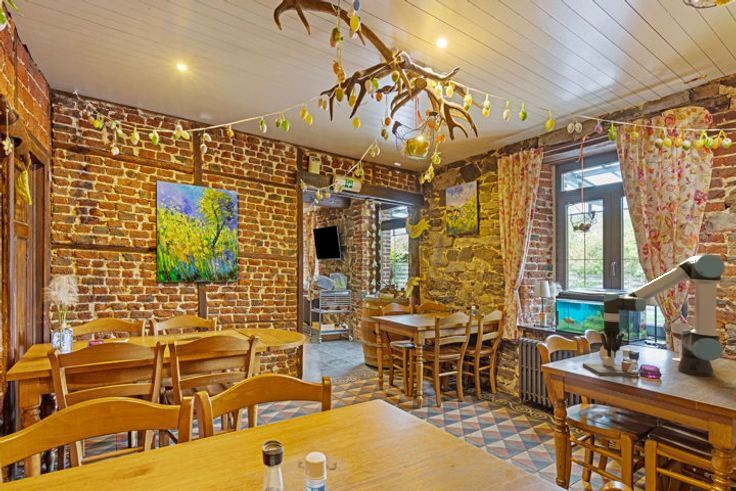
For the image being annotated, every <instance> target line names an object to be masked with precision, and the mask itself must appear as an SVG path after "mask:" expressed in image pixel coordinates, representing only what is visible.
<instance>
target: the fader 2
mask: <svg viewBox="0 0 736 491" xmlns="http://www.w3.org/2000/svg"><path fill="white" fill-rule="evenodd" d="M631 363H632V362H629V361H628V360H627V361H625V360H623V361H621V364H620V365H622V369H623V370H625V371H628V369H629V367H630V365H631Z"/></svg>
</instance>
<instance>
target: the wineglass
mask: <svg viewBox="0 0 736 491" xmlns="http://www.w3.org/2000/svg"><path fill="white" fill-rule="evenodd" d="M670 330H671V334H672V337H674V338H675V339H677V340H678V345H679V346H678V348H679V350H678V352H679V357H672V358H671V360H674V361H679V362H680V360H681V357H682V336H681V334H682V331H683V330H690V324H689V323H683V322H670Z"/></svg>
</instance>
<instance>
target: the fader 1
mask: <svg viewBox="0 0 736 491" xmlns="http://www.w3.org/2000/svg"><path fill="white" fill-rule="evenodd" d="M602 363H603V364H604V365H606V366H612V364H613V363H612V358H609V357H603V361H602Z"/></svg>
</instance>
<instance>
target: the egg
mask: <svg viewBox="0 0 736 491" xmlns="http://www.w3.org/2000/svg"><path fill="white" fill-rule="evenodd" d="M611 351H612V350H611ZM598 353H599V359H600V360H601V362H603V357H608V356H607V350H605V349H604V348H603V345H602V346H600V349H599V352H598ZM615 359H616V357H614V360H615Z"/></svg>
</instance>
